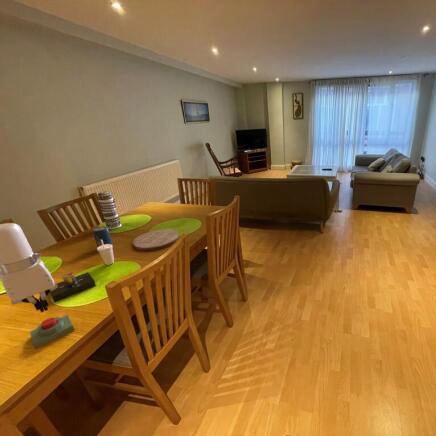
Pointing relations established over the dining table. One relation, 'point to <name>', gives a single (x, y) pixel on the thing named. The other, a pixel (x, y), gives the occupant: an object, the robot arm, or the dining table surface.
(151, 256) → the dining table surface
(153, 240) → the trivet
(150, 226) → the dining table surface
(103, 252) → the smoothie
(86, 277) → the hob panel
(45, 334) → the push button box
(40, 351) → the dining table surface
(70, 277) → the hob knob
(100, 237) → the soda can
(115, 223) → the grey ringed cylinder
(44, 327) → the power button
